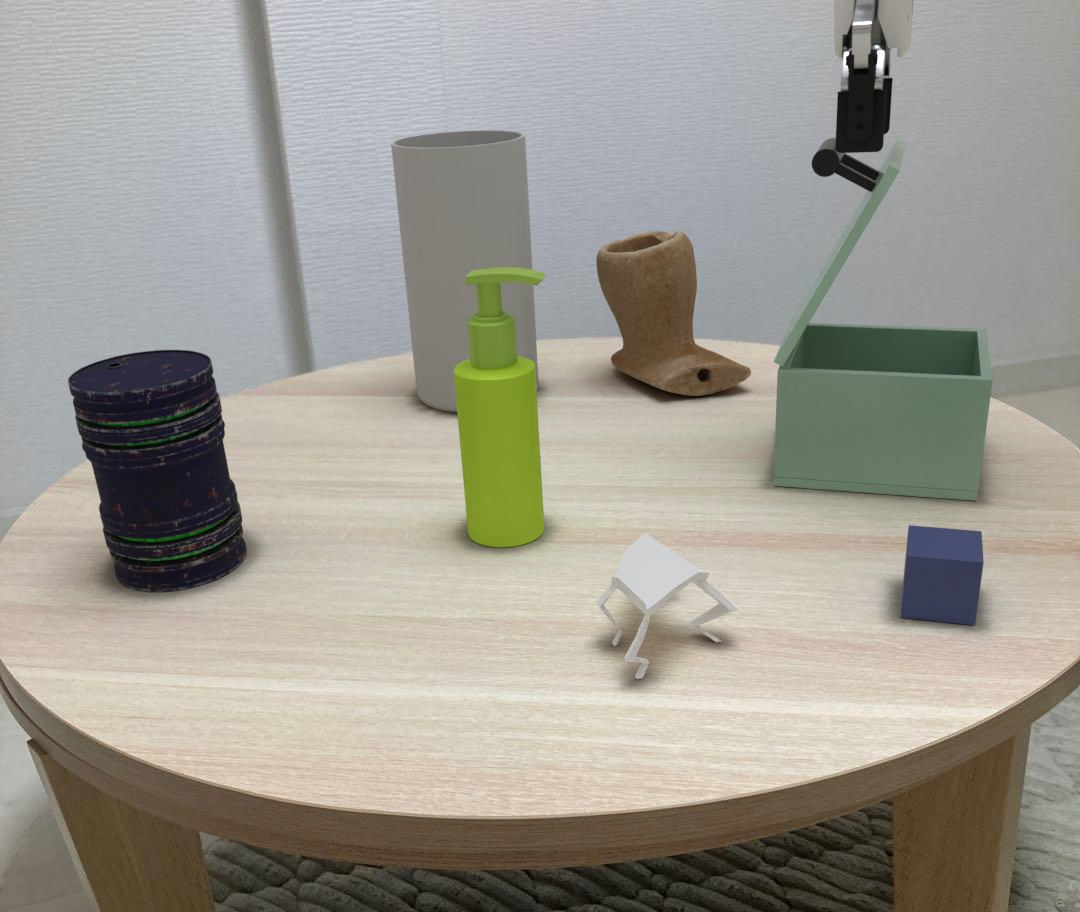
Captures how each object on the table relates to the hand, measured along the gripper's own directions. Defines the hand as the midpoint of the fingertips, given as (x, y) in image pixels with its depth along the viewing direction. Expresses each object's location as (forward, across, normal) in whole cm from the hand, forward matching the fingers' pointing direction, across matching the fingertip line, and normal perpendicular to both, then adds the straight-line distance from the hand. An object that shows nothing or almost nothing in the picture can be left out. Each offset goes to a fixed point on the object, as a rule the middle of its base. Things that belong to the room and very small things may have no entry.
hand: (863, 142), depth 84 cm
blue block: (+26, -22, -8) cm, 35 cm away
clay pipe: (+26, +20, +20) cm, 38 cm away
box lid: (+9, +2, +1) cm, 9 cm away
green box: (+26, +2, -2) cm, 26 cm away
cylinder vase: (+25, +13, +38) cm, 47 cm away
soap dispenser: (+26, -17, +24) cm, 39 cm away
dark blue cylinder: (+25, -27, +46) cm, 60 cm away
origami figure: (+26, -29, +10) cm, 40 cm away
